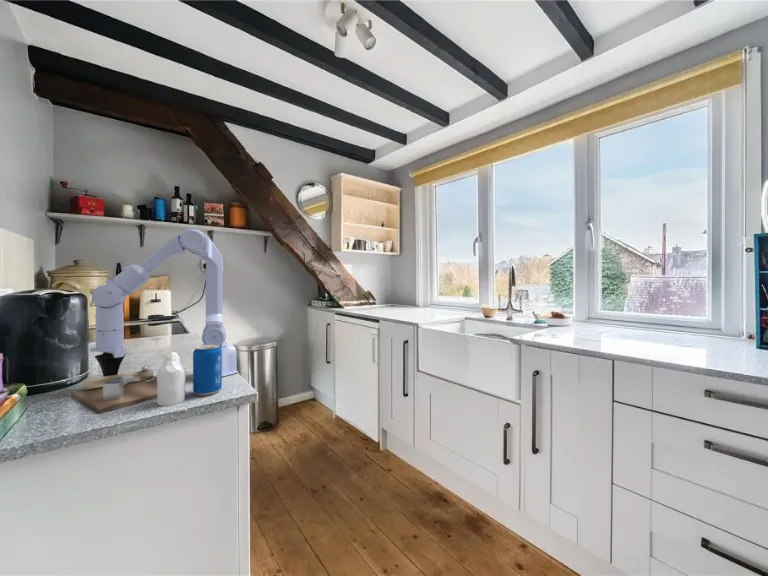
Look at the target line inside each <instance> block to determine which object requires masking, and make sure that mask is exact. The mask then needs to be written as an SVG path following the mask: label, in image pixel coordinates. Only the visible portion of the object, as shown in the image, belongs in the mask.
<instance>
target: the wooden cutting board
mask: <svg viewBox="0 0 768 576" xmlns="http://www.w3.org/2000/svg"><path fill="white" fill-rule="evenodd" d="M153 378H154V379H153V380H151V381H148V382H137V381H136V382H130V383H127V384H125V385H123V398H121V399H120V400H106V401H103V387H99V388H93V389H87V390H83V388H80V389H74V390H71V391H70V396H72V395H73V396H74V397H73V396H72V397H73V398H75V397H76V398H77V399H76V398H75V399H76V400H78V399H79V400H80V401H79V400H78V401H79V402H81V401H82V402H83V403H82V402H81V403H82V404H84V405H85V404H86V406H87V407H88V408H90V409H92V410H93V411H95V412H96V413H98V414H103V413H107V412H111V411H115V410H119V409H123V408H126V407H130V406H134V405H136V404H141V403H145V402H148V401H151V400H157V376H155V375H153Z"/></svg>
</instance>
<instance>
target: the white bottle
mask: <svg viewBox="0 0 768 576" xmlns="http://www.w3.org/2000/svg"><path fill="white" fill-rule="evenodd" d="M156 372H157V373H156V377H157V398H156V403H157V405H158V406H161V407H165V406H166V407H167V406H173V405H176V404H179V403H182V402H184V401H185V399H186V375H187V373H186V372H187V371H186V368H185V367H184V366H183V362H182V360H181V358H180V355H179V354H178V352H175V351H171V352H170V353H169V354H167V355H166V357H165V359H164V360H163V362H162V363H161V365H160V366H159V368H158V369H157V371H156Z"/></svg>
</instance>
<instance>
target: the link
mask: <svg viewBox="0 0 768 576" xmlns="http://www.w3.org/2000/svg"><path fill="white" fill-rule="evenodd" d="M119 376H134V380H132V381H131V382H136V381H144V380H150V379H152V378H153V376H154V369H148V371H142V370H140V371H134V372H127V373H118V374H117V375H111V376H105V377H104V376H98V377H92V378H85V379H83V381H82V386H83V387H82V389H83V390H87V389H93V388H99V387H103V384H105V383H107V382H109V381H111V380H113V379H115V378H117V377H119ZM129 383H130V382H129Z"/></svg>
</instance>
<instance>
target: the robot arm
mask: <svg viewBox="0 0 768 576" xmlns="http://www.w3.org/2000/svg"><path fill="white" fill-rule="evenodd" d="M185 250H186V251H188V252H190V254H191V253H192V254H193V255H196V256H198V257H199V258H200V259H201V260H202V261H203V262H205V326H204V328H203V330H202V334H201V341H202V344H201V345H207V344H217V345H220V348H221V350H222V378H223V377H226V376H231V375H234V374H238V373H239V371H238V370H237V369H238V368H237V365H238V363H237V362H238V361H237V360H238V359H237V358H238V356H237V355H238V353H237V349H236V347H235V345H233V343H228V342H226V339H227V333H226V328H225V327H224V326H223V283H224V282H223V277H224V276H223V275H224V274H223V270H224V269H223V264H224V263H223V262H224V260H223V255H222V254H221V252H220V251H219V250H218V248H217V247H216V245H215V244H214V242H213V241H212V239H211V238H210V236H209V235H206V234H205V233H204V232H202V230H200V229H197V228H191V227H190V228H187V229H185V230H184V231H182V232H181V234H177V235H175V236H174V237H173V238H171V239H170V240H168V241H167V242H166V243H164V244H163V245H162V246H161V247H159V248H158V249H157V250H156V251H155V252H154V253H152V254H151V255H150V256H148V257H147V258H146V259H145V260H144V261H143V262H141V263H140V264H130V265H128V266H127V265H126V266H123V267H122V268H121V272H120V273H118V274H117V275H115V276H114V277H113V278H112V279H110V278H109V279H107V280H106V281H105V283H106V284H103V285H98V286H97V287H96V289H94V291H93V293H92V295H91V296H92V297H91V298H92V302H93V303H94V304H95V314H94V315H95V316H94V317H95V347H91V348H89V351H90V352H91V353H93V352H98V353H101V354H96V355H94V358H95V359H96V361H97V363H98V364H99V367H100V369H101V372H102V375H103V376H102V377H105V376H111V375H118V374H119V369H120V367H121V364H122V362H123V361H124V359H125V357H126V353H125V348H126V345H125V330H124V329H125V328H124V327H125V326H124V324H125V322H124V321H125V319H124V317H125V315H124V302H125V301H126V299H127V296H130V295H132V294H133V293H134V292H136V291H137V290H139V289H140V288H141V287H142V286H144V285H145V284H146V283H147V282H149V281H150V274H151V273H152V272H153V271H155V270H156V269H157V268H159V267H160V266H161V265H162V264H164V263H166V262H167V261H168V260H170V259H171V258H172V257H174V256H178V255H182V254H183V255H184V254H186V251H185ZM233 370H234V371H236V373H235V372H234V371H233Z"/></svg>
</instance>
